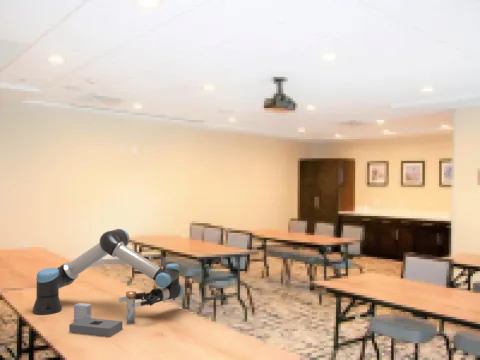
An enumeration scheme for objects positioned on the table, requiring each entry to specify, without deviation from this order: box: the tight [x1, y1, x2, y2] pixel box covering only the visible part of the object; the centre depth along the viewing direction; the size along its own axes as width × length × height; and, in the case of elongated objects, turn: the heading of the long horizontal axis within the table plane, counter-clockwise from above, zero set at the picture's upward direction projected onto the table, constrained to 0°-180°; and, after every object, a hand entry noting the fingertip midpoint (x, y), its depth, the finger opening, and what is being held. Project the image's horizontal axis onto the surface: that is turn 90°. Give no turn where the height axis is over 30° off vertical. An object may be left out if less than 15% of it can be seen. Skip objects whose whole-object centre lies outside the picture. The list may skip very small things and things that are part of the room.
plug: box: [125, 290, 137, 325], centre depth 231 cm, size 5×5×16 cm
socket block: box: [68, 317, 124, 338], centre depth 218 cm, size 22×12×4 cm, turn 75°
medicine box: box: [73, 302, 92, 322], centre depth 234 cm, size 8×4×9 cm, turn 74°
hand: (126, 302), depth 229 cm, fingers open, 13 cm apart
